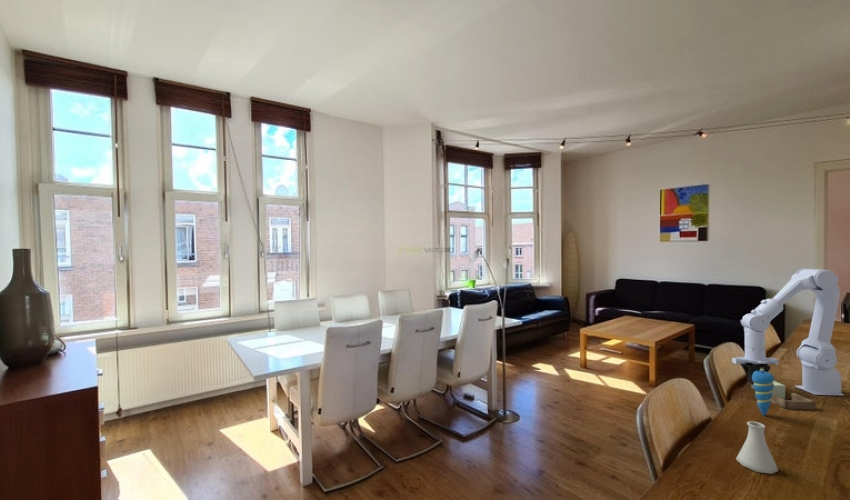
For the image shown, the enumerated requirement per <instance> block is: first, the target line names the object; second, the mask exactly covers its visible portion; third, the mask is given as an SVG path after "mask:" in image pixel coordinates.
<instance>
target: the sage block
mask: <svg viewBox="0 0 850 500" xmlns="http://www.w3.org/2000/svg"><path fill="white" fill-rule="evenodd" d="M750 384H751V383H750ZM773 384H774V388H773V390H772V392H773V395H775V396H778V397H780V398H782V399H784V400H786V385H784V384H782V383H781V382H777V381H776V380H774V381H773ZM753 385H754V384H751V385H750V386H751V387H750V388H752V389H754V387H753ZM754 390H755V389H754Z"/></svg>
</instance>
